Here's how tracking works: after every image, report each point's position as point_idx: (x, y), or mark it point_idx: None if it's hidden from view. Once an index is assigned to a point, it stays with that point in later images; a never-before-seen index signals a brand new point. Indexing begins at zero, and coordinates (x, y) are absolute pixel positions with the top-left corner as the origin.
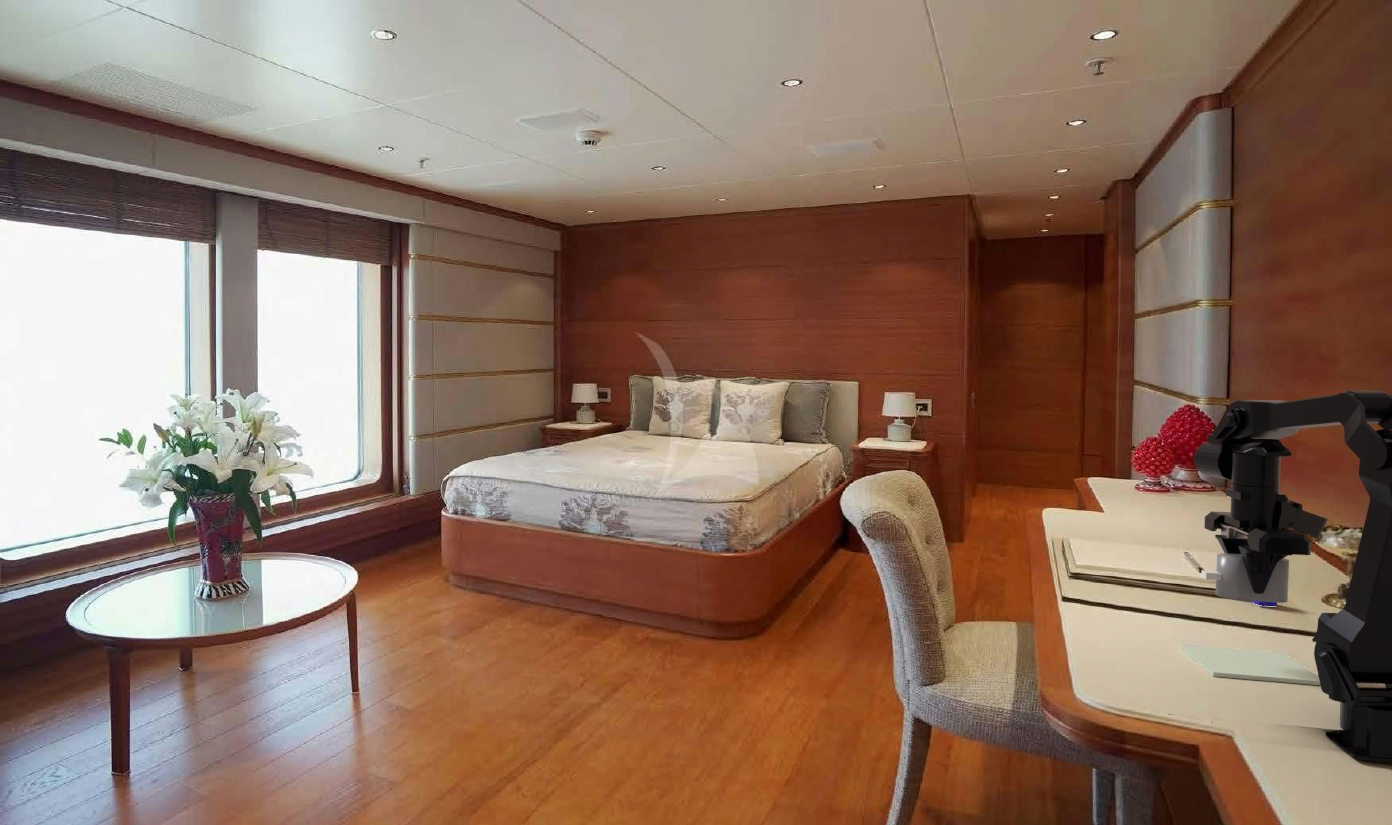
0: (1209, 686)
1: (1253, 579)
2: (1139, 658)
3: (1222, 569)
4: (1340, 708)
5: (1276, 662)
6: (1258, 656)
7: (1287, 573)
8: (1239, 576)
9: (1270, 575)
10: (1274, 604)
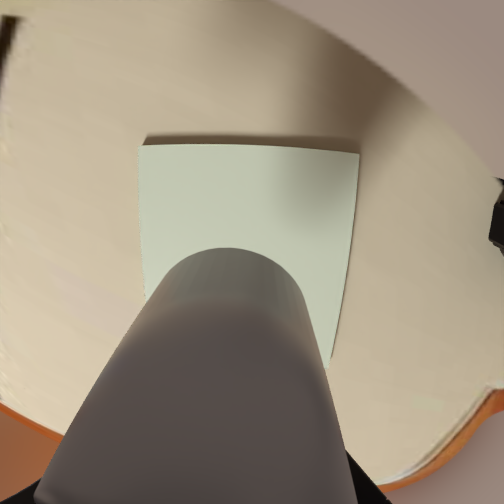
0: (372, 381)
1: None
2: None
3: None
4: (500, 246)
5: (233, 202)
6: (193, 227)
7: (322, 406)
8: None
9: (376, 490)
10: None
